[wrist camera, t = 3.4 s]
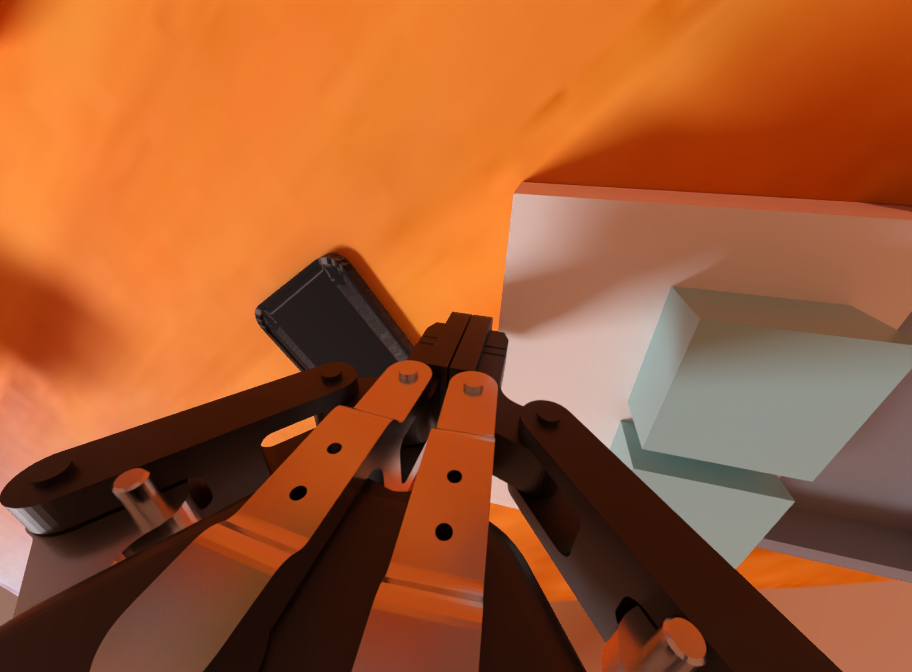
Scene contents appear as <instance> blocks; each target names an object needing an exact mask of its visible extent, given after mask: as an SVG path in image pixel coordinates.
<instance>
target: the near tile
mask: <svg viewBox="0 0 912 672" xmlns="http://www.w3.org/2000/svg"><path fill="white" fill-rule="evenodd" d="M911 369H912V338H911V337H909V336H908V335H906V334H904V333H902V332H900V331H898V330H896V329H894V328H893V327H891V326H889V325H887V324H885V323H883V322H881V321H879V320H877V319H876V318H874V317H872V316H870V315H868V314H866V313H864V312H862V311H860V310H859V309H857V308H855V307H853V306H851V305H842V304H833V303H824V302H815V301H805V300H796V299H787V298H777V297H768V296H759V295H750V294H740V293H731V292H722V291H713V290H703V289H694V288H685V287H676V286H671V288H670V291H669V294H668V296H667V299H666V302H665V304H664V307H663V310H662V312H661V315H660V317H659V320H658V323H657V325H656V328H655V331H654V333H653V336H652V339H651V341H650V344H649V346H648V349H647V352H646V354H645V357H644V360H643V362H642V365H641V368H640V370H639V373H638V375H637V378H636V381H635V383H634V386H633V389H632V391H631V394H630V397H629V399H628V405H629V408H630V412H631V415H632V418H633V421H634V424H635V428H636V431H637V434H638V437H639V441H640V444H641V447H642V449H644V450H650V451H655V452H660V453H665V454H670V455H676V456H681V457H686V458H691V459H696V460H702V461H707V462H712V463H717V464H722V465H728V466H733V467H738V468H743V469H748V470H754V471H759V472H764V473H769V474H774V475H780V476H785V477H790V478H795V479H800V480H806V481H811V482H813V481H814V479H815V478H816V477H817V476H818V475H819V474H820V473H821V471H822V470H823V469H824V468H825V467H826V466H827V465H828V463H829V462H830V461H831V460H832V459H833V458H834V457H835V455H836V454H837V453H838V452H839V451H840V450H841V449H842V447H843V446H844V445H845V444H846V443H847V442H848V441H849V440H850V438H851V437H852V436H853V435H854V434H855V433H856V432H857V430H858V429H859V428H860V427H861V426H862V425H863V424H864V422H865V421H866V420H867V419H868V418H869V417H870V416H871V414H872V413H873V412H874V411H875V410H876V409H877V408H878V406H879V405H880V404H881V403H882V402H883V401H884V400H885V398H886V397H887V396H888V395H889V394H890V393H891V392H892V390H893V389H894V388H895V387H896V386H897V385H898V384H899V383H900V381H901V380H902V379H903V378H904V377H905V376H906V375H907V373H908V372H909V371H910V370H911Z"/></svg>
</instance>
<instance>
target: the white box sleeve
mask: <svg viewBox="0 0 912 672" xmlns="http://www.w3.org/2000/svg"><path fill="white" fill-rule="evenodd" d="M671 286H676V287H685V288H694V289H703V290H713V291H722V292H731V293H740V294H750V295H759V296H768V297H777V298H787V299H796V300H805V301H815V302H824V303H833V304H842V305H851V306H853V307H855V308H857V309H859V310H860V311H862V312H864V313H866V314H868V315H870V316H872V317H874V318H876V319H877V320H879V321H881V322H883V323H885V324H887V325H889V326H891V327H893V328H894V329H896V330H897V329H898V328H899V327H900V326H901V324H902V323H903V322H904V320H905V319H906V318H907V317H908V315H909V314H910V313H911V312H912V212H909V211H904V210H898V209H893V208H888V207H882V206H877V205H871V204H866V203H861V202H847V201H830V200H814V199H797V198H781V197H764V196H748V195H731V194H715V193H698V192H682V191H665V190H649V189H632V188H616V187H599V186H583V185H566V184H549V183H533V182H521V184H520V185H519V186H518V188H517V189H516V191H515V192H514V195H513V203H512V212H511V221H510V230H509V239H508V248H507V257H506V266H505V275H504V284H503V293H502V302H501V311H500V320H499V329H498V332H504V333H505V335H506V336H507V338H508V340H509V342H508V349H507V356H506V363H505V370H504V376H503V381H502V387H501V390H502V392H503V393H504V395H505V396H506V397H507V398H509V399H510V400H512V401H513V402H515V403H517V404H519V405H522V406H524V405H525V404H527V403H529V402H531V401H535V400H547V401H551V402H555V403H557V404H560V405H562V406H563V407H565V408H566V409H567V410H569V411H570V412H571V413H572V414H573V415H574V416H575V417H576V418H577V419H578V420H579V421H580V422H581V423H582V424H583V425H584V426H585V427H587V428H588V429H589V430H590V431H591V432H592V433H593V434H594V435H595V436H596V437H597V438H598V439H599V440H600V441H601V442H602V443H603V444H604V445H605V446H606V447H607V448H609V449H610V447H611V444H612V441H613V439H614V436H615V433H616V431H617V428H618V425H619V423H620V420H623V421H629V422H634V421H633V418H632V415H631V412H630V408H629V405H628V399H629V397H630V394H631V391H632V389H633V386H634V383H635V381H636V378H637V375H638V373H639V370H640V368H641V365H642V362H643V360H644V357H645V354H646V352H647V349H648V346H649V344H650V341H651V339H652V336H653V333H654V331H655V328H656V325H657V323H658V320H659V317H660V315H661V312H662V310H663V307H664V304H665V302H666V299H667V296H668V294H669V291H670V288H671ZM777 476H778V477H779V478H780V477H781V476H780V475H777ZM490 503H495V504H499V505H503V506H507V507H511V508H516V509H519V508H518V506H517V505H516V503H515V501H514V500H513V498H512V497H511V495H510V493H509V491H508V486H507V483H506V482H504V481H502V480H500V479H499V478H497V477H495V476H493V475H492V486H491V499H490Z"/></svg>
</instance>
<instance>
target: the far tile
mask: <svg viewBox="0 0 912 672" xmlns="http://www.w3.org/2000/svg"><path fill="white" fill-rule="evenodd" d="M610 450H611V451H612V452H613V453H614V454H615V455H616V456H617V457H618V458H619V459H620V460H621V461H622V462H623V463H624V464H625V465H626V466H627V467H628V468H630V469H631V470H632V471H633V472H634V473H635V474H636V475H637V476H638V477H639V478H640V479H641V480H642V481H643V482H644V483H645V484H646V485H647V486H648V487H649V488H650V489H652V490H653V491H654V492H655V493H656V494H657V495H658V496H659V497H660V498H661V499H662V500H663V501H664V502H665V503H666V504H667V505H668V506H669V507H670V508H671V509H673V510H674V511H675V512H676V513H677V514H678V515H679V516H680V517H681V518H682V519H683V520H684V521H685V522H686V523H687V524H688V525H689V526H690V527H691V528H692V529H694V530H695V531H696V532H697V533H698V534H699V535H700V536H701V537H702V538H703V539H704V540H705V541H706V542H707V543H708V544H709V545H710V546H711V547H712V548H713V549H714V550H716V551H717V552H718V553H719V554H720V555H721V556H722V557H723V558H724V559H725V560H726V561H727V562H728V563H729V564H730V565H731V566H732V567H733V568H734V569H736V568H737V567H738V566H739V565H740V564H741V563H742V561H743V560H744V559H745V558H746V557H747V556H748V555H749V554H750V552H751V551H752V550H753V549H754V548H755V547H756V546H757V544H758V543H759V542H760V541H761V540H762V539H763V538H764V536H765V535H766V534H767V533H768V532H769V531H770V530H771V528H772V527H773V526H774V525H775V524H776V523H777V522H778V520H779V519H780V518H781V517H782V516H783V515H784V514H785V512H786V511H787V510H788V509H789V508H790V507H791V506H792V504H793V503H794V502H795V500H794V499H793V497H792V496H791V495H790V493H789V492H788V490H787V489H786V487H785V486H784V484H783V483H782V482H781V480H780V479H779V477H778V476H777V475H774V474H769V473H764V472H759V471H754V470H748V469H743V468H738V467H733V466H728V465H722V464H717V463H712V462H707V461H702V460H696V459H691V458H686V457H681V456H676V455H670V454H665V453H660V452H655V451H650V450H644V449H642V447H641V444H640V441H639V437H638V434H637V431H636V428H635V424H634V422H629V421H623V420H620V423H619V425H618V428H617V431H616V433H615V436H614V439H613V441H612V444H611V447H610Z"/></svg>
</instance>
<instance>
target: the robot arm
mask: <svg viewBox="0 0 912 672" xmlns="http://www.w3.org/2000/svg"><path fill="white" fill-rule="evenodd" d="M492 321H493V318H492V317H486V316H479V315H472V314H465V313H458V312H452V313H451V315H450V317H449V318H448V320H447V322H446V324H445V323H438V322H437V323H435V324H433V325H432V326H430V327H428V328H427V329H426V331H425V332H424V334H423V336H422V337H421V338H420V340H419V342H418V343H417V345H416V346H415V348H414V349H413V351H412V352H411V354H410V355H409V357H408V358H407V360H406V361H401V362H397V363H395V364H393V365H391V366H390V367H388V368H387V369H386V371H385V372H384V373H383V374H382V375H381V376H380V377H363V378H358V376H357V371H356V369H355V367H353V366H352V365H350V364H348V363H343V362H333V363H327V364H323V365H320V366H317V367H314V368H311V369H308V370H305V371H302V372H299V373H296V374H293V375H290V376H287V377H284V378H281V379H278V380H275V381H272V382H269V383H266V384H263V385H260V386H257V387H254V388H251V389H248V390H245V391H242V392H239V393H236V394H233V395H230V396H227V397H224V398H221V399H218V400H215V401H212V402H209V403H206V404H203V405H200V406H197V407H194V408H191V409H188V410H185V411H182V412H179V413H176V414H173V415H170V416H167V417H164V418H161V419H158V420H155V421H152V422H149V423H146V424H143V425H140V426H137V427H134V428H131V429H128V430H125V431H122V432H119V433H116V434H113V435H110V436H107V437H104V438H101V439H98V440H95V441H92V442H89V443H86V444H83V445H80V446H77V447H74V448H71V449H68V450H65V451H62V452H59V453H56V454H53V455H51V456H49V457H46V458H44V459H42V460H40V461H38V462H36V463H34V464H33V465H31V466H29V467H28V468H26V469H25V470H23V471H22V472H20V473H19V474H18V475H16V476H15V477H14V478H13V479H12V480H11V481H10V482H9V483H8V484H7V485H6V486H5V487H4V489H3V490H2V492H1V495H0V502H1V504H2V505H3V506H4V507H5V508H6V509H7V510H8V511H9V512H10V513H11V514H12V515H13V516H14V517H16V518H17V519H18V520H19V521H20V522H21V523H22V524H23V525H24V526H25V529H26V531H27V533H28V534H29V535H30V536H31V537H32V538H33V542H32V546H31V550H30V554H29V558H28V562H27V565H26V569H25V573H24V577H23V581H22V585H21V589H20V593H19V597H18V601H17V605H16V609H15V613H14V616H13V618H12V619H11V620H9V621H8V622H6V623H5V624H3V625H2V626H0V672H586V670H585V668H584V666H583V665H582V663H581V661H580V659H579V657H578V655H577V653H576V652H575V650H574V648H573V646H572V644H571V643H570V641H569V639H568V637H567V635H566V633H565V631H564V630H563V628H562V626H561V624H560V622H559V621H558V619H557V617H556V615H555V613H554V611H553V609H552V607H551V606H550V604H549V602H548V600H547V598H546V596H545V595H544V593H543V591H542V589H541V587H540V585H539V583H538V582H537V580H536V578H535V576H534V574H533V572H532V571H531V569H530V567H529V565H528V563H527V561H526V560H525V558H524V556H523V555H522V553H521V552H520V551H519V549H518V548H517V546H516V545H515V544H514V543H513V542H512V541H511V539H510V538H509V537H508V536H507V535H506V534H505V533H504V532H502V531H501V530H500V529H499V528H498V527H497V526H495V525H494V524H492V523H491V522H490V521H489V512H490V499H491V486H492V475H493V476H495V477H497V478H499V479H500V480H502V481H504V482H506V483H507V486H508V491H509V493H510V495H511V497H512V498H513V500H514V501H515V503H516V505H517V506H518V508H519V509H520V511H521V512H522V514H523V515H524V517H525V519H526V520H527V522H528V523H529V525H530V526H531V528H532V529H533V531H534V532H535V534H536V536H537V537H538V539H539V540H540V542H541V543H542V545H543V546H544V548H545V550H546V551H547V553H548V554H549V556H550V557H551V559H552V560H553V562H554V563H555V565H556V567H557V568H558V570H559V571H560V573H561V574H562V576H563V577H564V579H565V581H566V582H567V584H568V585H569V587H570V588H571V590H572V591H573V593H574V594H575V596H576V598H577V599H578V601H579V602H580V604H581V605H582V607H583V608H584V610H585V611H586V613H587V615H588V616H589V618H590V619H591V621H592V622H593V624H594V625H595V627H596V629H597V630H598V632H599V633H600V635H601V636H602V638H603V639H604V641H605V643H606V644H605V646H604V649H603V651H602V657H601V670H602V672H842V671H841V670H840V669H839V668H838V667H837V666H836V665H835V664H834V663H833V662H832V661H831V660H830V659H829V658H828V657H827V656H826V655H825V654H824V653H823V652H821V651H820V650H819V649H818V648H817V647H816V646H815V645H814V644H813V643H812V642H811V641H810V640H809V639H808V638H807V637H806V636H805V635H804V634H803V633H801V632H800V631H799V630H798V629H797V628H796V627H795V626H794V625H793V624H792V623H791V622H790V621H789V620H788V619H787V618H786V617H785V616H784V615H783V614H781V613H780V612H779V611H778V610H777V609H776V608H775V607H774V606H773V605H772V604H771V603H770V602H769V601H768V600H767V599H766V598H765V597H764V596H763V595H762V594H761V593H759V592H758V591H757V590H756V589H755V588H754V587H753V586H752V585H751V584H750V583H749V582H748V581H747V580H746V579H745V578H744V577H743V576H742V575H741V574H740V573H739V572H738V571H737V570H735V569H734V568H733V567H732V566H731V565H730V564H729V563H728V562H727V561H726V560H725V559H724V558H723V557H722V556H721V555H720V554H719V553H718V552H717V551H716V550H714V549H713V548H712V547H711V546H710V545H709V544H708V543H707V542H706V541H705V540H704V539H703V538H702V537H701V536H700V535H699V534H698V533H697V532H696V531H695V530H694V529H692V528H691V527H690V526H689V525H688V524H687V523H686V522H685V521H684V520H683V519H682V518H681V517H680V516H679V515H678V514H677V513H676V512H675V511H674V510H673V509H671V508H670V507H669V506H668V505H667V504H666V503H665V502H664V501H663V500H662V499H661V498H660V497H659V496H658V495H657V494H656V493H655V492H654V491H653V490H652V489H650V488H649V487H648V486H647V485H646V484H645V483H644V482H643V481H642V480H641V479H640V478H639V477H638V476H637V475H636V474H635V473H634V472H633V471H632V470H631V469H630V468H628V467H627V466H626V465H625V464H624V463H623V462H622V461H621V460H620V459H619V458H618V457H617V456H616V455H615V454H614V453H613V452H612V451H611V450H610V449H609V448H607V447H606V446H605V445H604V444H603V443H602V442H601V441H600V440H599V439H598V438H597V437H596V436H595V435H594V434H593V433H592V432H591V431H590V430H589V429H588V428H587V427H585V426H584V425H583V424H582V423H581V422H580V421H579V420H578V419H577V418H576V417H575V416H574V415H573V414H572V413H571V412H570V411H569V410H567V409H566V408H565V407H563V406H562V405H560V404H557V403H555V402H551V401H547V400H535V401H531V402H529V403H527V404H525V405H524V406H522V405H519V404H517V403H515V402H513V401H512V400H510V399H509V398H507V397H506V396H505V395H504V393H503V392H502V390H501V387H502V381H503V376H504V370H505V363H506V356H507V349H508V342H509V340H508V338H507V336H506V335H505V333H504V332H498V331H492ZM312 416H314V418H315V422H316V426H317V427H316V428H314V429H312V430H309V431H307V432H305V433H302V434H300V435H298V436H295V437H293V438H291V439H288V440H286V441H284V442H281V443H279V444H277V445H274V446H271V447H262V446H261V443H262V441H263V439H264V438H265V437H266V436H268V435H269V434H271V433H273V432H275V431H277V430H280V429H282V428H285V427H287V426H290V425H292V424H294V423H297V422H299V421H302V420H304V419H307V418H309V417H312ZM436 425H437V427H436V428H435V426H436ZM418 469H419V470H418ZM417 471H418V473H417ZM416 473H417V476H416V480H415V483H414V486H413V489H412V491H408V490H409V488H410V486H411V484H412V481H413V479H414V477H415V475H416Z"/></svg>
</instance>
